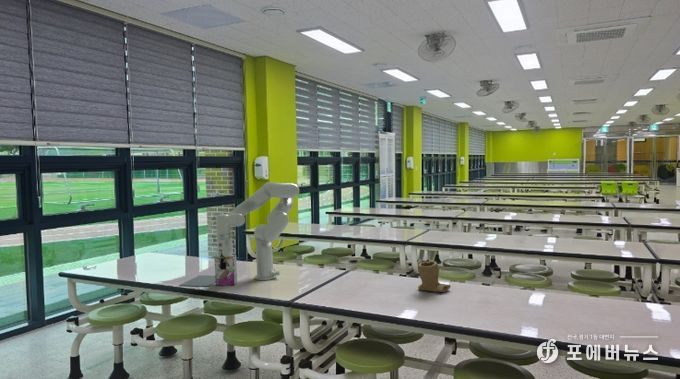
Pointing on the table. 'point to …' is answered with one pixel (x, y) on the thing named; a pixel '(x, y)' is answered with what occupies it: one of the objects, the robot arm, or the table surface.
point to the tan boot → (430, 277)
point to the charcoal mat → (200, 281)
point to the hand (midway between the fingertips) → (225, 267)
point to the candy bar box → (226, 271)
